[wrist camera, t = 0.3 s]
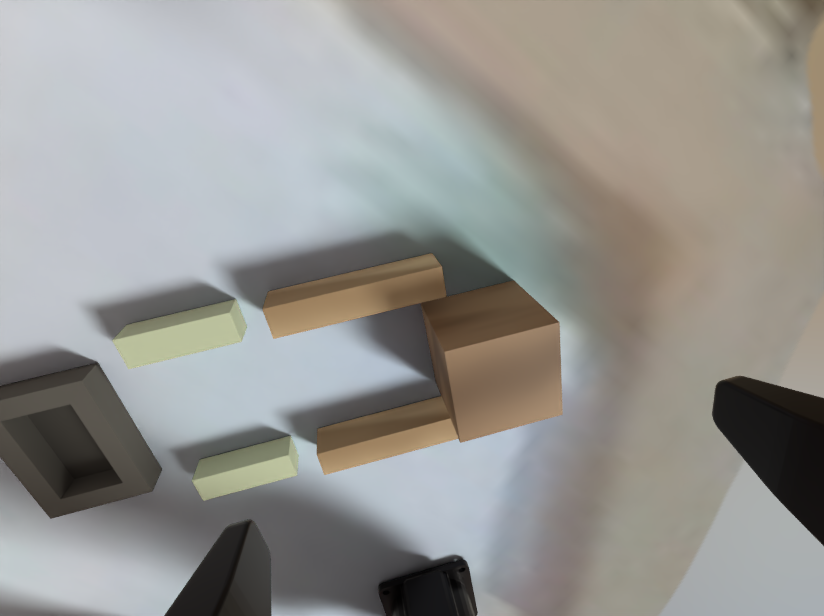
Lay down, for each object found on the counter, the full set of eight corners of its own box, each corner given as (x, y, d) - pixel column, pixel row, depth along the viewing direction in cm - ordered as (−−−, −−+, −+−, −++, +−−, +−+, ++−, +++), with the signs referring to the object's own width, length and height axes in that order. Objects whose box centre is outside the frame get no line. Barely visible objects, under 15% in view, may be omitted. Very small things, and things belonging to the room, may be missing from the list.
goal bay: (298, 455, 25) (297, 475, 23) (210, 479, 24) (203, 500, 23) (235, 299, 20) (229, 312, 19) (126, 324, 20) (112, 340, 19)
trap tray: (162, 469, 24) (152, 491, 22) (66, 494, 23) (50, 518, 22) (97, 362, 20) (82, 380, 19) (-14, 389, 20) (-38, 409, 19)
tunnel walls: (459, 412, 26) (469, 435, 24) (324, 448, 25) (324, 474, 23) (432, 253, 21) (441, 266, 19) (267, 291, 21) (262, 309, 19)
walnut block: (519, 359, 25) (562, 414, 20) (435, 381, 25) (460, 442, 20) (513, 279, 23) (559, 322, 18) (420, 302, 22) (444, 352, 18)
